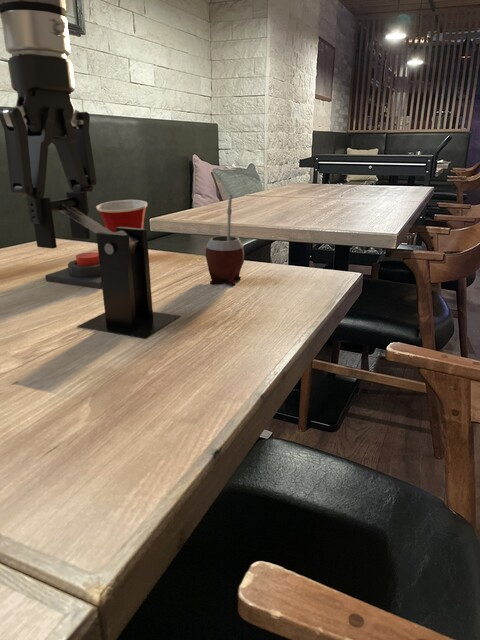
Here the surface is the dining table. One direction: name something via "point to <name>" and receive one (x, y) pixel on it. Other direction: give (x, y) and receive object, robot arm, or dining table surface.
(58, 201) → the lever
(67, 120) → the robot arm
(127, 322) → the bracket
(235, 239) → the mate gourd
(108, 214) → the plastic cup
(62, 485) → the dining table surface
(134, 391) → the dining table surface
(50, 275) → the button box
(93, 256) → the button
